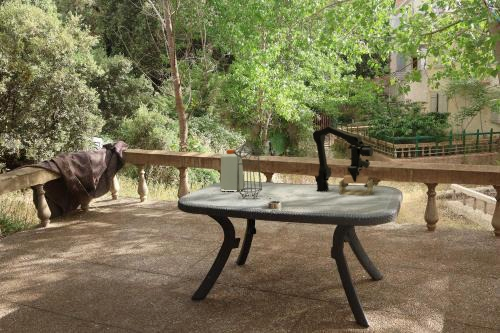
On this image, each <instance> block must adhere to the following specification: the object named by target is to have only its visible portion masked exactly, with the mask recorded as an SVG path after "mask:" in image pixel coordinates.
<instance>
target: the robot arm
mask: <svg viewBox="0 0 500 333" xmlns="http://www.w3.org/2000/svg"><path fill="white" fill-rule="evenodd" d="M330 134H331V135H333V136H335V137H338V138H341V139H343V140H344V141H346V143H348V144H349V146H348V147H347V149H348V150H350V158H349V159H350V166H348V167H347V172H348V173H349V174H350V175H351V176H352V178H353V180H354V182H356V178H357V176H360V173H361V172H362V170H363V169H364V168H365V169H368V168H369V167H370V164H371V162H370V160H369V159H365V160H364V159H362V157H373V154H374V149H373V147H372V145H371V144H366V145H365V143H364V142H363V140H362V137H361V136H360V135H357V134H352V133H348V132H346V131H343V130H340V129H338V128H336V127H333V126H331V125H329V126H328V125H327V126H326V127H325V128H324V127H323V128H322V129H318V130H315V131H313V133H312V137H313V141H314V143H315V144H316V149H317V156H318V164H319V168H318V175H317V176H316V178H315V179H314V180H315V182H316V190H315V191H316V192H327V191H328V190H329V183H328V181H329V179H330V178H331V176H332V173H333V172H332V168H331V166H330V167H329V166H328V163H327V162H328V161H327V156H326V154H327V153H326V149H325V141H326V136H327V135H330Z"/></svg>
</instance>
